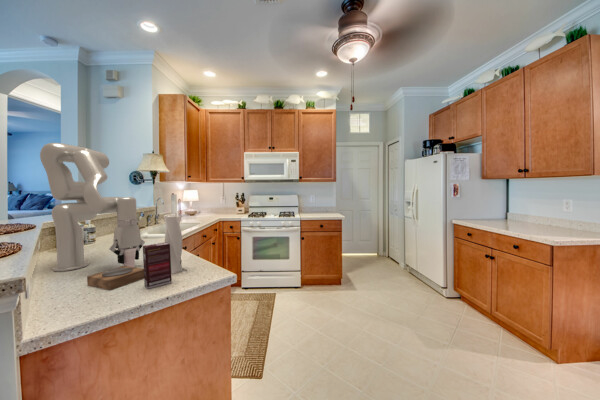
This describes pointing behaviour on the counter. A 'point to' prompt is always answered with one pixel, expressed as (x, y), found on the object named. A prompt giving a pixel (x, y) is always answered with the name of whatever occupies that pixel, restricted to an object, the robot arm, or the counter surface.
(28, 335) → the counter surface
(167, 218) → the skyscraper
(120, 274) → the plinth
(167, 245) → the supplement box
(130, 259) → the smoothie
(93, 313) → the counter surface
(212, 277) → the counter surface
